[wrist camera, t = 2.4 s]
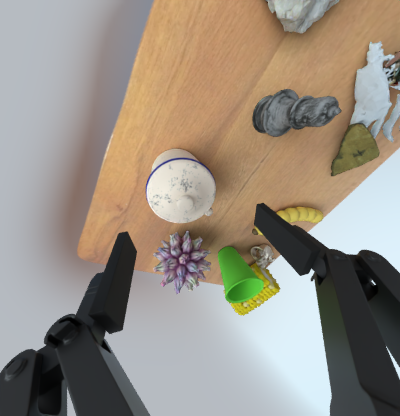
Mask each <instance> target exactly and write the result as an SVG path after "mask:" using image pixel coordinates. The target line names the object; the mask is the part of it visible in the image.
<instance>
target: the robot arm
mask: <svg viewBox="0 0 400 416" xmlns="http://www.w3.org/2000/svg"><path fill="white" fill-rule="evenodd" d="M254 225H255V226H256V228H257V229H258V230H259V231H260V232H261V233H262V234H263V235H264V236H265V237H266V239H267V240H268V241H269V242H270V243H271V244H272V245H273V246H274V247H275V249H276V250H277V251H278V252H279V253H280V254H281V255H282V256H283V257H284V258H285V260H286V261H287V262H288V263H289V264H290V265H291V266H292V267H293V268H294V269H295V271H296V272H297V273H298V274H299V275H300V276H302V275H305V274H308V273H309V272H310V270H311V268H312V269H313V270H314V271H315V272H314V274H313V276H312V278H311V281H313V279H314V280H315V286H316V292H317V299H318V306H319V312H320V319H321V326H322V333H323V339H324V346H325V352H326V359H327V365H328V372H329V379H330V386H331V393H332V399H331V404H330V416H400V379H399V377H398V374H397V372H396V370H395V367H394V365H393V362H392V360H391V357H390V355H389V353H388V350H387V348H388V349H389V351H390V353H391V354H392V356H393V357H394V359H395V361H396V362H397V364H398V365H399V367H400V273H399V272H398V271H397V270H396V269H395V268H394V267H393V266H392V265H391V264H390V263H389V262H388V261H387V260H386V259H385V258H384V257H382V256H381V255H379V254H377V253H375V252H372V251H369V250H361V251H360V252H359V253H358V254H357V255H349V254H345V253H343V252H341V251H338V250H335V249H329V248H327V247H326V246H324V245H323V244H322V243H321V242H319V241H318V240H316V239H315V238H314V237H312V236H311V235H310V234H308V233H307V232H306V231H305V230H303V229H302V228H300V227H298V226H296V225H293V226H292V225H291V224H289V223H288V222H287V221H285V220H284V219H283V218H282V217H280V216H279V215H278V214H277V213H275V212H274V211H273V210H272V209H270V208H269V207H268V206H267V205H265V204H264V203H261V204H257V206H256V213H255V220H254ZM136 254H137V251H136V249H135V246H134V244H133V242H132V240H131V238H130V236H129V234H128V232H122V233H119V234H118V236H117V239H116V242H115V244H114V247H113V249H112V252H111V255H110V257H109V260H108V263H107V265H106V268H105V271H104V272H102V273H98V274H96V275H95V276H94V278H93V279H92V280H91V282H90V284H89V286H88V288H87V289H88V290H87V291H86V293H85V296H84V298H83V300H82V302H81V305H80V307H79V309H78V311H77V313H76V315H75V314H69V315H66V316H63V317H62V318H60V319H59V320H58V321H57V322H55V323H54V325H52V326H51V328H50V329H49V330H48V332H47V334H46V336H45V338H44V344H46V346H45V347H43V348H41V349H40V350H38V351H35V350H33V349H28V350H25V351H23V352H21V353H19V354H18V355H17V356H16V357H14V358H13V359H12V360H11V361H10V362H9V363H8V364H7V365H6V366H5V367H4V368H3V370H2V371H1V373H0V416H67V388H68V391H69V394H70V397H71V400H72V403H73V406H74V409H75V413H76V416H150V414H149V413H148V411H147V409H146V408H145V406H144V404H143V402H142V401H141V399H140V397H139V396H138V394H137V392H136V391H135V389H134V387H133V385H132V384H131V382H130V380H129V379H128V377H127V375H126V373H125V372H124V370H123V369H122V367H121V365H120V363H119V362H118V360H117V358H116V357H115V355H114V353H113V352H112V350H111V348H110V346H109V345H108V343H107V341H106V340H105V339H104V336H105V332H106V331H107V332H108V333H109V334H112V333H114V332H118V331H121V330H123V325H124V319H125V314H126V308H127V303H128V298H129V292H130V287H131V281H132V276H133V271H134V265H135V260H136ZM372 280H373V281H374V282H375V284H376V285H374V284H373V283H372V282H371V281H372ZM386 346H387V348H386Z"/></svg>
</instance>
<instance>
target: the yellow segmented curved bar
mask: <svg viewBox="0 0 400 416" xmlns="http://www.w3.org/2000/svg"><path fill="white" fill-rule="evenodd" d="M276 213H277V214H278V215H279V216H280V217H282V218H283V219H284V220H285V221H287V222H288V223H289V222H296V221H303V220H304V221H309V222H312V223H318V222H320V221H322V219H323V213H322V212H321V211H319V210H316V209H313V208H310V207H305V208H304V207H296V208H287V209H286V210H285V211H283V210H282V211H278V212H276ZM252 233H253V234H254V235H258V234H259V235H263V234H262V233H261V232H260V231H259V230H258V229H257V228H256V226H255V229H253V230H252Z"/></svg>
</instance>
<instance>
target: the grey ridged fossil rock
mask: <svg viewBox="0 0 400 416" xmlns="http://www.w3.org/2000/svg"><path fill="white" fill-rule="evenodd" d="M266 1H267V2H268V6H269V9H270V11H271V12H272V13H273V12H274V11H276V13H277V18H278V19H279V21H280V22H281V23H282V25H284V30H285V31H289V32H290V33H291V32H293V31H295V32H299V33H300V34H302V33H304V32H305V31H306V30H307V28H309V27H310V26H311V25H312V23H313V22H316V21H318V20H319V19H321V18H322V16H323V15H324V13H325V11H327V10H329V9H330V7H331V6H333V5H335V4H336V3H338V2H339V0H266Z"/></svg>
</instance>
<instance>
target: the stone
mask: <svg viewBox="0 0 400 416" xmlns="http://www.w3.org/2000/svg"><path fill="white" fill-rule="evenodd" d="M378 156H379V150H378V147H377V144H376V141H375V139H374V137H373V136H372V134H371V133H370V132H369V130H368V129H367V128H366V126H365V125H364V124H363V123H355V124H351V125H349V126H348V129H347V131H346V132H345V135H344V138H343V140H342V143H341V146H340V150H339V153H338V155H337V157H336V159H334V160H333V162H332V166H331V170H332V173H331V176H335V175H337V174H340V173H342V172H345V171H347V170H350V169H352V168H355V167H359V166H361V165H363V164H365V163H366V162H369V161H371V160H373V159H375V158H377V157H378Z"/></svg>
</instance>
